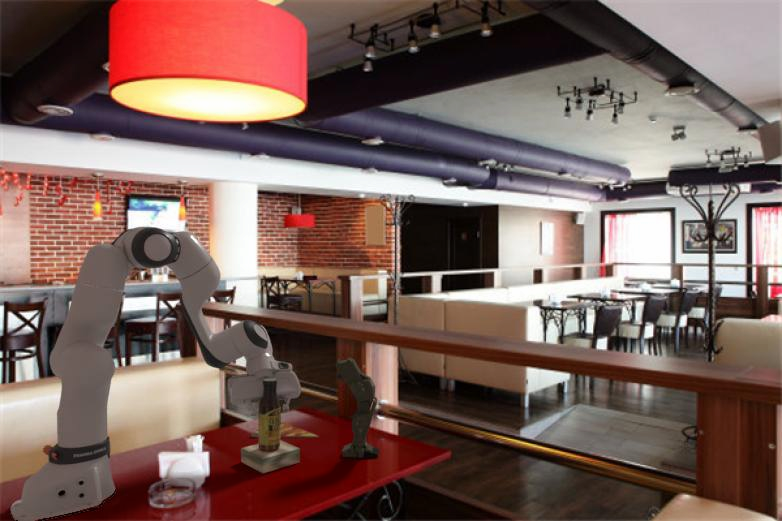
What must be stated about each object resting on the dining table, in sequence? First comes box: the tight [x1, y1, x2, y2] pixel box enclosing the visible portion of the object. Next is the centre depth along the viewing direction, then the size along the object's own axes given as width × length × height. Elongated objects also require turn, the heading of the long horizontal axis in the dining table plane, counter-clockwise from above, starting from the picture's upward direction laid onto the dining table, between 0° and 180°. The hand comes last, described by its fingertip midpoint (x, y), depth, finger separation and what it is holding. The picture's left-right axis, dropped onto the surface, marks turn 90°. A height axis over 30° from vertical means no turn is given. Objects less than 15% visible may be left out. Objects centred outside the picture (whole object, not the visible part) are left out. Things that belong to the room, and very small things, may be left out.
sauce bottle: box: [257, 378, 282, 451], centre depth 167 cm, size 7×6×20 cm
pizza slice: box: [251, 418, 319, 439], centre depth 192 cm, size 16×22×2 cm
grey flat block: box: [240, 440, 301, 474], centre depth 167 cm, size 12×12×4 cm
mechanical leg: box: [335, 357, 381, 459], centre depth 173 cm, size 14×7×30 cm, turn 84°
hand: (270, 412), depth 167 cm, fingers open, 8 cm apart
